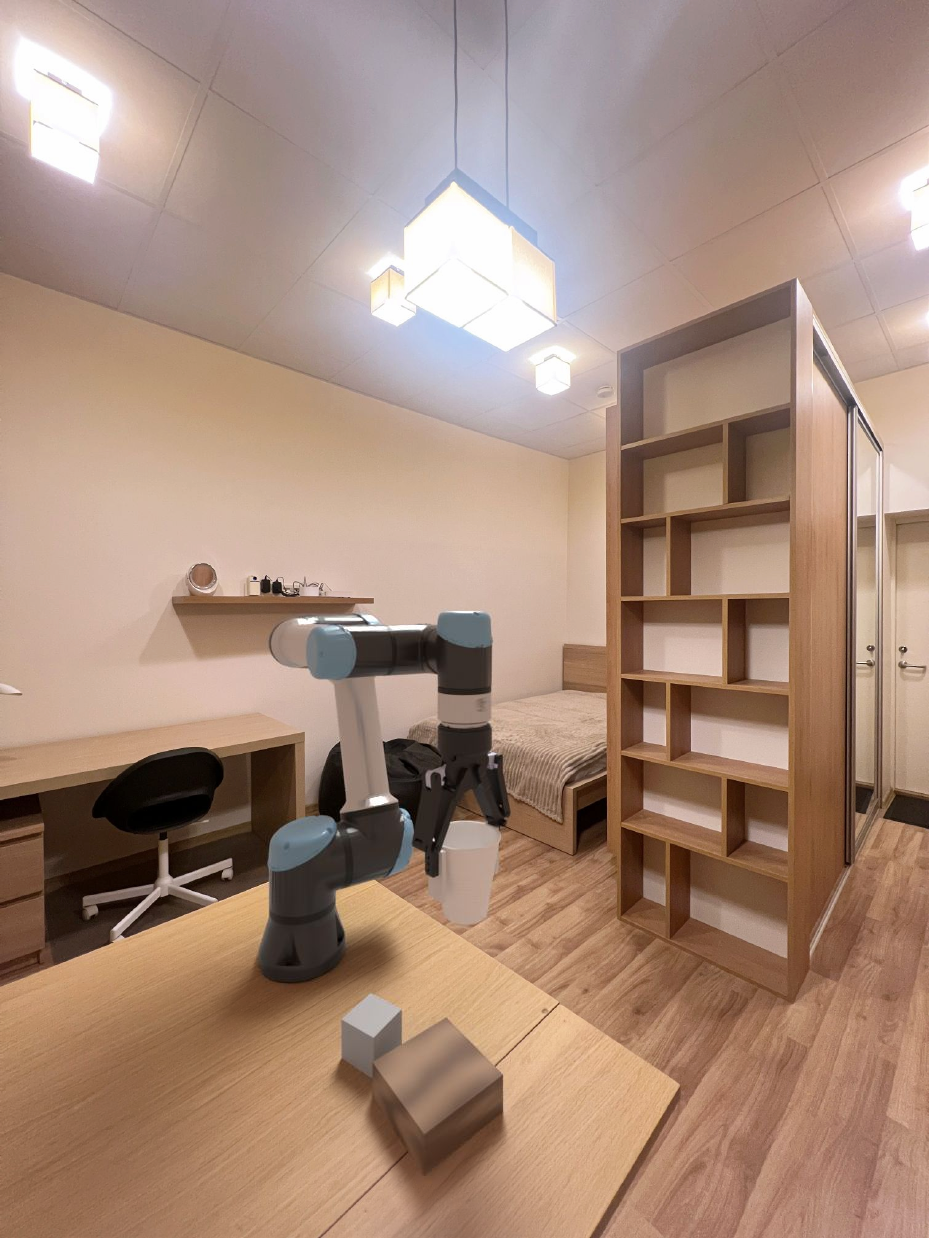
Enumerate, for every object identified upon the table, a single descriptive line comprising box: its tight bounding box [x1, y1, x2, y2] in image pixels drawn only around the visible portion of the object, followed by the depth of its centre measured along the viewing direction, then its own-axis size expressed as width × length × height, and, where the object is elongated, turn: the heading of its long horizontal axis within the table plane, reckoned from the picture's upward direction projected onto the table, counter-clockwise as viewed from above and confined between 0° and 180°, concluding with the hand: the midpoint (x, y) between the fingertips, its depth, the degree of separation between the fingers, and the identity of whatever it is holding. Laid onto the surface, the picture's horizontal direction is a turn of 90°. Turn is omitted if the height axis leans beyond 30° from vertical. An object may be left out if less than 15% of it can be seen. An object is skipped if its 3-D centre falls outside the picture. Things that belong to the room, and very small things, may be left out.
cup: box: [433, 820, 502, 926], centre depth 71 cm, size 10×10×11 cm
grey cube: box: [340, 992, 403, 1079], centre depth 73 cm, size 6×6×6 cm
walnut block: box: [371, 1017, 504, 1177], centre depth 66 cm, size 12×12×5 cm
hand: (464, 883), depth 71 cm, fingers closed on cup, 10 cm apart
